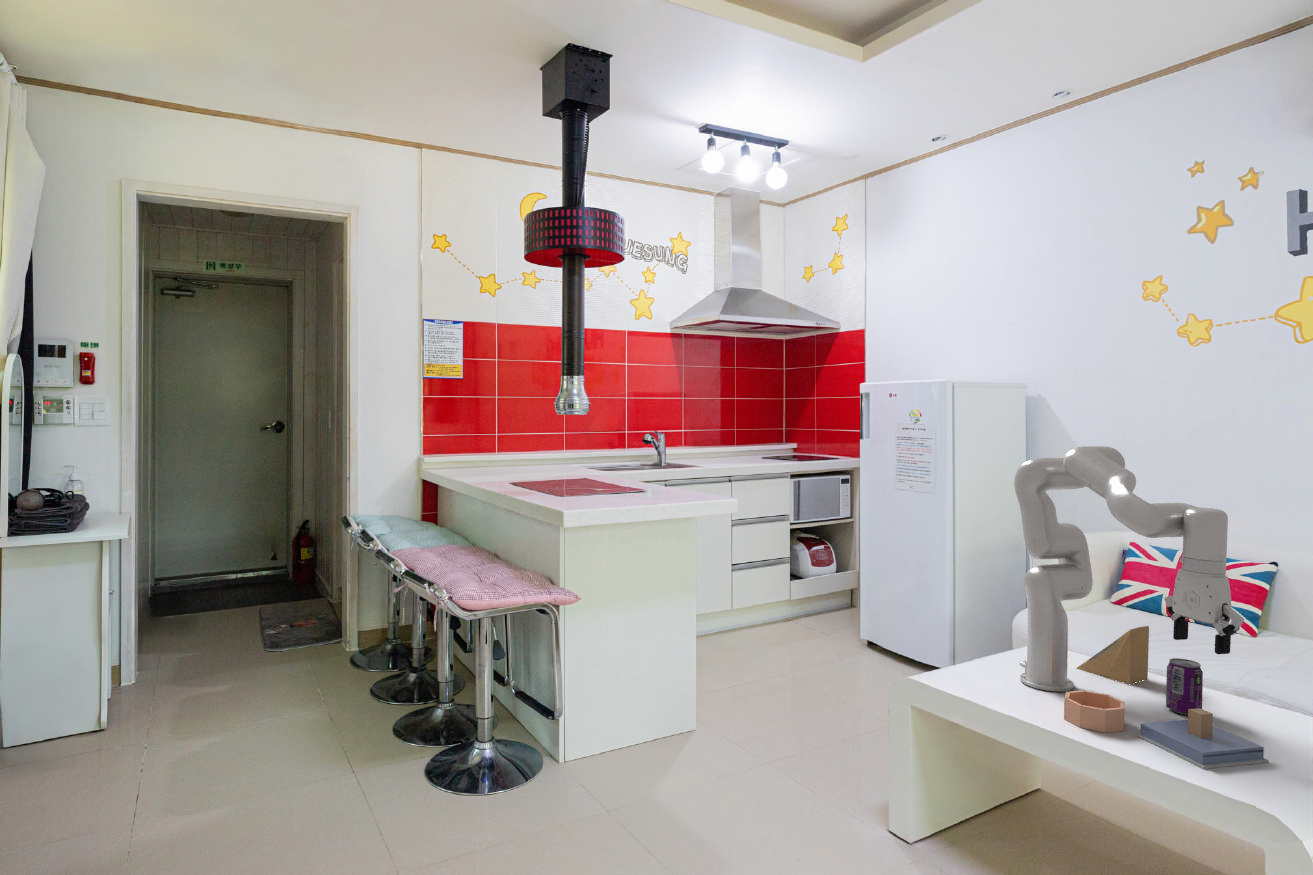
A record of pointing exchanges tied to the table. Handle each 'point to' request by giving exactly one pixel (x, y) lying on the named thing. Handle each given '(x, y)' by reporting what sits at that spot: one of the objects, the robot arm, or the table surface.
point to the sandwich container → (1122, 658)
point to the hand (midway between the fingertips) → (1200, 646)
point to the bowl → (1094, 711)
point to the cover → (1202, 739)
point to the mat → (1209, 764)
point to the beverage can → (1184, 685)
